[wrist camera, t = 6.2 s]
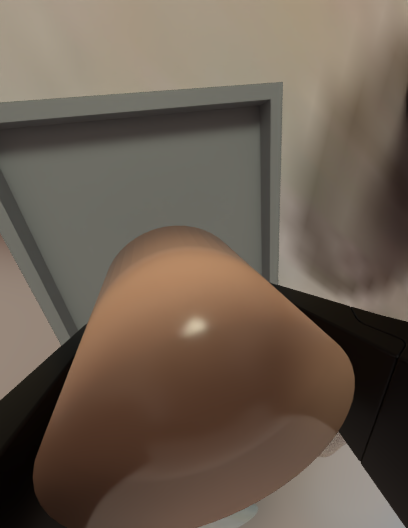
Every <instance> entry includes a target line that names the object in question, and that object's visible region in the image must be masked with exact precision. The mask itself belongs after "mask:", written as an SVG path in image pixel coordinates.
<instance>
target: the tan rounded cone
mask: <svg viewBox="0 0 408 528" xmlns="http://www.w3.org/2000/svg"><path fill="white" fill-rule="evenodd" d="M354 390H355V377H354V372H353V367H352V364H351V362H350V360H349V358H348V356H347V354H346V353H345V352H344V350H343V349H342V348H341V347H340V346H339V345H338V344H337V343H336V342H335V341H334V340H333V339H332V338H331V337H329V336H328V335H327V334H326V333H325V332H324V331H323V330H322V329H321V328H319V327H318V326H317V325H316V324H315V323H314V322H313V321H312V320H310V319H309V318H308V317H307V316H306V315H305V314H304V313H303V312H302V311H300V310H299V309H298V308H297V307H296V306H295V305H294V304H293V303H291V302H290V301H289V300H288V299H287V298H286V297H285V296H284V295H283V294H281V293H280V292H279V291H278V290H277V289H276V288H275V287H274V286H273V285H271V284H270V283H269V282H268V281H267V280H266V279H265V278H264V277H262V276H261V275H260V274H259V273H258V272H257V271H256V270H255V269H254V268H252V267H251V266H250V265H249V264H248V263H247V262H246V261H245V260H243V259H242V258H241V257H240V256H239V255H238V254H237V253H236V252H235V251H233V250H232V249H231V248H230V247H229V246H228V245H227V244H226V243H224V242H223V241H222V240H221V239H220V238H218V237H217V236H215V235H213V234H212V233H210V232H207V231H205V230H203V229H199V228H196V227H190V226H167V227H161V228H157V229H154V230H151V231H149V232H146V233H144V234H142V235H140V236H138V237H137V238H135V239H134V240H132V241H131V242H129V243H128V244H127V245H126V246H125V247H124V248H123V249H122V250H121V251H120V252H119V253H118V254H117V256H116V257H115V258H114V260H113V262H112V263H111V265H110V267H109V269H108V272H107V274H106V277H105V280H104V282H103V285H102V287H101V290H100V293H99V295H98V298H97V300H96V303H95V305H94V308H93V311H92V313H91V316H90V318H89V321H88V324H87V326H86V329H85V331H84V334H83V336H82V339H81V342H80V344H79V347H78V349H77V352H76V355H75V357H74V360H73V362H72V365H71V367H70V370H69V373H68V375H67V378H66V380H65V383H64V386H63V388H62V391H61V393H60V396H59V398H58V401H57V404H56V406H55V409H54V411H53V414H52V416H51V419H50V422H49V424H48V427H47V429H46V432H45V435H44V437H43V440H42V442H41V445H40V448H39V450H38V453H37V456H36V459H35V463H34V471H33V484H34V491H35V494H36V496H37V499H38V501H39V503H40V505H41V506H42V508H43V509H44V510H45V511H46V512H47V514H48V515H49V516H50V517H51V518H53V519H54V520H55V521H57V522H58V523H59V524H61V525H63V526H65V527H67V528H197V527H200V526H203V525H206V524H209V523H212V522H215V521H217V520H220V519H222V518H225V517H227V516H230V515H232V514H234V513H236V512H238V511H240V510H243V509H245V508H247V507H249V506H250V505H252V504H254V503H256V502H258V501H260V500H261V499H263V498H265V497H266V496H268V495H270V494H271V493H273V492H275V491H276V490H277V489H279V488H280V487H282V486H283V485H285V484H286V483H288V482H289V481H290V480H291V479H293V478H294V477H296V476H297V475H298V474H299V473H300V472H302V471H303V470H304V469H305V468H306V467H307V466H309V465H310V464H311V463H312V462H313V461H314V460H315V459H316V458H317V457H318V456H319V455H320V454H321V453H322V451H323V450H324V449H325V448H326V447H327V446H328V445H329V443H330V442H331V441H332V439H333V438H334V437H335V435H336V434H337V432H338V431H339V429H340V428H341V426H342V424H343V423H344V420H345V418H346V416H347V414H348V412H349V409H350V406H351V404H352V400H353V395H354Z"/></svg>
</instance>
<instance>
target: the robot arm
mask: <svg viewBox="0 0 408 528" xmlns="http://www.w3.org/2000/svg"><path fill="white" fill-rule="evenodd" d="M269 283H270V282H269ZM270 284H271V285H273V286H274V287H275V288H276V289H277V290H278V291H279V292H280V293H281V294H283V295H284V296H285V297H286V298H287V299H288V300H289V301H290V302H291V303H293V304H294V305H295V306H296V307H297V308H298V309H299V310H300V311H302V312H303V313H304V314H305V315H306V316H307V317H308V318H309V319H310V320H312V321H313V322H314V323H315V324H316V325H317V326H318V327H319V328H321V329H322V330H323V331H324V332H325V333H326V334H327V335H328V336H329V337H331V338H332V339H333V340H334V341H335V342H336V343H337V344H338V345H339V346H340V347H341V348H342V349H343V350H344V352H345V353H346V354H347V356H348V358H349V360H350V362H351V364H352V367H353V372H354V377H355V390H354V395H353V400H352V404H351V406H350V409H349V412H348V414H347V416H346V418H345V420H344V423H343V424H342V426H341V428H340V429H339V433H340V434H341V435H342V437H343V438H344V440H345V441H346V443H347V444H348V445H349V447H350V448H351V450H352V451H353V453H354V454H355V455H356V457H357V458H358V460H359V461H361V464H362V466H363V467H364V468H365V470H366V471H367V473H368V474H369V476H370V477H371V479H372V480H373V481H374V483H375V484H376V486H377V487H378V489H379V490H380V491H381V493H382V494H383V496H384V497H385V499H386V500H387V501H388V503H389V504H390V506H391V507H392V508H393V510H394V511H395V513H396V514H397V516H398V517H399V519H400V520H401V521H402V523H403V524H404V526H405V527H406V528H408V322H406V321H402V320H398V319H394V318H390V317H386V316H382V315H379V314H375V313H371V312H368V311H364V310H361V309H358V308H354V307H350V306H347V305H344V304H341V303H337V302H334V301H330V300H327V299H324V298H320V297H317V296H314V295H310V294H307V293H303V292H300V291H297V290H293V289H290V288H286V287H283V286H280V285H276V284H273V283H270ZM87 324H88V323H87ZM87 324H85V325H84V326H83V327H82V328H81V329H80V330H79V331H77V332H76V333H75V334H74V335H73V336H72V337H71V338H70V339H68V340H67V341H66V342H65V343H64V344H63V345H62V346H61V347H60V348H58V349H57V350H56V351H55V352H54V353H53V354H52V355H51V356H50V357H48V358H47V359H46V360H45V361H44V362H43V363H42V364H41V365H39V367H37V368H36V369H35V370H34V371H33V372H32V373H30V374H29V375H28V376H27V377H26V378H25V379H24V380H23V381H21V383H19V384H18V385H17V386H16V387H15V388H14V389H13V390H11V391H10V392H9V393H8V394H7V395H6V396H5V397H4V398H3V399H1V400H0V528H67V527H65V526H63V525H61V524H59V523H58V522H57V521H55V520H54V519H53V518H51V517H50V516H49V515H48V514H47V512H46V511H45V510H44V509H43V508H42V506H41V505H40V503H39V501H38V499H37V496H36V494H35V491H34V484H33V471H34V463H35V459H36V456H37V453H38V450H39V448H40V445H41V442H42V440H43V437H44V435H45V432H46V429H47V427H48V424H49V422H50V419H51V416H52V414H53V411H54V409H55V406H56V404H57V401H58V398H59V396H60V393H61V391H62V388H63V386H64V383H65V380H66V378H67V375H68V373H69V370H70V367H71V365H72V362H73V360H74V357H75V355H76V352H77V349H78V347H79V344H80V342H81V339H82V336H83V334H84V331H85V329H86V326H87Z"/></svg>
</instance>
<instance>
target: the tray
mask: <svg viewBox="0 0 408 528" xmlns="http://www.w3.org/2000/svg"><path fill="white" fill-rule="evenodd" d="M282 96H283V82H277V83H263V84H249V85H235V86H221V87H208V88H194V89H180V90H166V91H152V92H139V93H125V94H111V95H97V96H83V97H70V98H56V99H42V100H28V101H14V102H1V103H0V233H1V235H2V237H3V239H4V241H5V243H6V245H7V246H8V248H9V250H10V252H11V254H12V256H13V257H14V259H15V261H16V263H17V265H18V267H19V268H20V270H21V272H22V274H23V276H24V278H25V280H26V281H27V283H28V285H29V287H30V288H31V291H32V292H33V294H34V296H35V297H36V300H37V301H38V303H39V305H40V307H41V309H42V311H43V313H44V314H45V316H46V318H47V320H48V322H49V323H50V325H51V327H52V329H53V331H54V333H55V335H56V336H57V338H58V340H59V342H60V344H61V346H62V345H63V344H64V343H65V342H66V341H67V340H68V339H70V338H71V337H72V336H73V335H74V334H75V333H76V332H77V331H79V330H80V329H81V328H82V327H83V326H84V325H85V324H87V323H88V321H89V318H90V316H91V313H92V311H93V308H94V305H95V303H96V300H97V298H98V295H99V293H100V290H101V287H102V285H103V282H104V280H105V277H106V274H107V272H108V269H109V267H110V265H111V263H112V262H113V260H114V258H115V257H116V256H117V254H118V253H119V252H120V251H121V250H122V249H123V248H124V247H125V246H126V245H127V244H128V243H129V242H131V241H132V240H134V239H135V238H137V237H138V236H140V235H142V234H144V233H146V232H149V231H151V230H154V229H157V228H161V227H167V226H190V227H196V228H199V229H203V230H205V231H207V232H210V233H212V234H213V235H215V236H217V237H218V238H220V239H221V240H222V241H223V242H224V243H226V244H227V245H228V246H229V247H230V248H231V249H232V250H233V251H235V252H236V253H237V254H238V255H239V256H240V257H241V258H242V259H243V260H245V261H246V262H247V263H248V264H249V265H250V266H251V267H252V268H254V269H255V270H256V271H257V272H258V273H259V274H260V275H261V276H262V277H264V278H265V279H266V280H267V281H268V282H270V283H273V284H276V285H278V261H279V220H280V179H281V138H282Z"/></svg>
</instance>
